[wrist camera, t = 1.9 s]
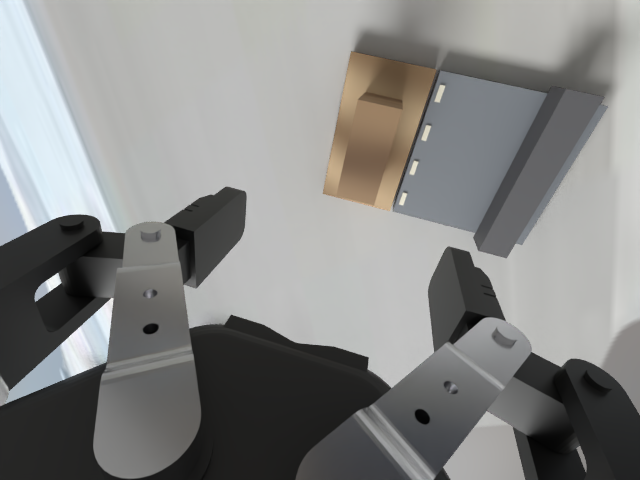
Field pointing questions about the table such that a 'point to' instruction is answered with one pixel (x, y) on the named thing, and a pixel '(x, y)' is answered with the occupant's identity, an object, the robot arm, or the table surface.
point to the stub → (376, 128)
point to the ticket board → (493, 156)
